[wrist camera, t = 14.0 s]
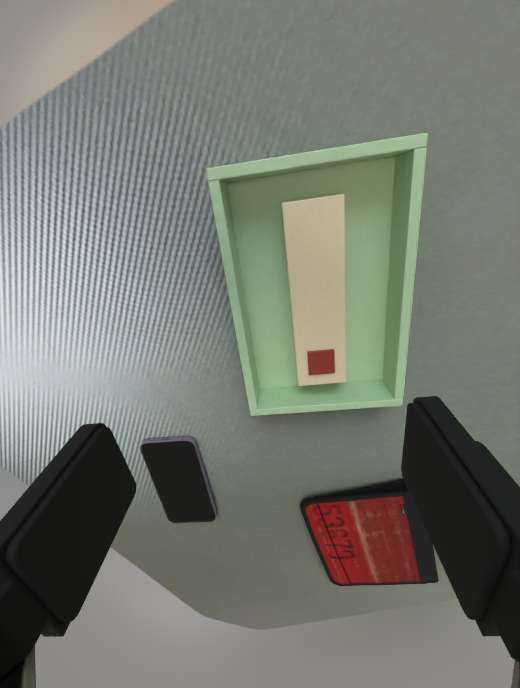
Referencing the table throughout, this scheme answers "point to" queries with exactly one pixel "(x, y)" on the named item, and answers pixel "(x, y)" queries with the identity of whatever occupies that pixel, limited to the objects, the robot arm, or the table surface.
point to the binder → (371, 536)
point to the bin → (360, 268)
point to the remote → (317, 286)
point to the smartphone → (179, 478)
